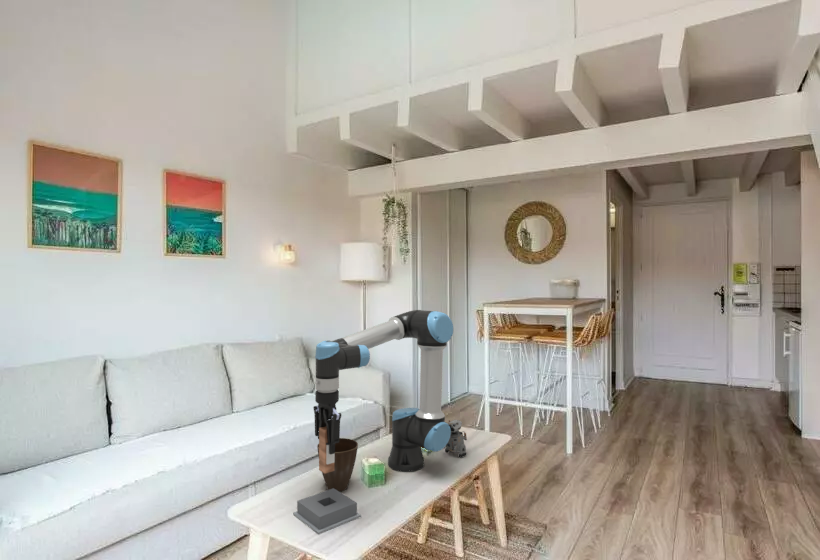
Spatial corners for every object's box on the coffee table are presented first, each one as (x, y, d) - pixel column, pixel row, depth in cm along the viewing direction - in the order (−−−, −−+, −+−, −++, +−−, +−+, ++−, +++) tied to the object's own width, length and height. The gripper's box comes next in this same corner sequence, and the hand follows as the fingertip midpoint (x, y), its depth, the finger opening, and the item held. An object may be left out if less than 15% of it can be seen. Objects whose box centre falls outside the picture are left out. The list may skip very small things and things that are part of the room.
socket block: (334, 499, 168) (334, 486, 168) (361, 516, 156) (361, 502, 156) (293, 514, 157) (293, 500, 157) (318, 534, 146) (318, 519, 145)
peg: (328, 467, 159) (328, 425, 159) (334, 470, 156) (334, 428, 156) (319, 470, 157) (319, 427, 156) (324, 473, 154) (325, 430, 154)
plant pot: (335, 475, 188) (335, 435, 187) (365, 484, 180) (365, 442, 180) (308, 490, 175) (308, 447, 174) (340, 500, 167) (340, 455, 167)
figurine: (436, 456, 208) (436, 421, 208) (453, 449, 216) (453, 416, 216) (452, 462, 202) (452, 426, 201) (469, 454, 210) (469, 420, 209)
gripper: (304, 387, 160) (303, 456, 160) (331, 396, 147) (330, 472, 148) (323, 383, 165) (323, 451, 165) (351, 392, 152) (350, 465, 153)
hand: (326, 461), depth 156 cm, fingers closed on peg, 4 cm apart
